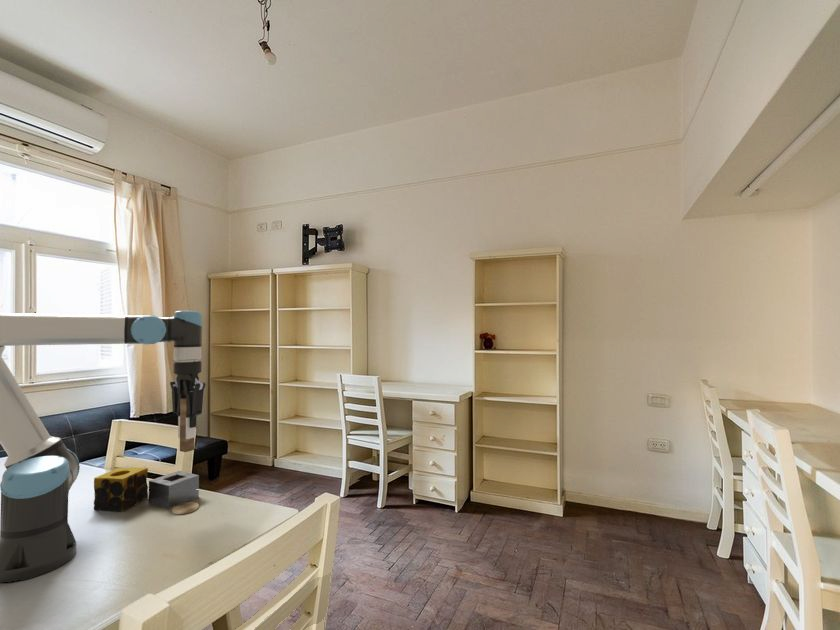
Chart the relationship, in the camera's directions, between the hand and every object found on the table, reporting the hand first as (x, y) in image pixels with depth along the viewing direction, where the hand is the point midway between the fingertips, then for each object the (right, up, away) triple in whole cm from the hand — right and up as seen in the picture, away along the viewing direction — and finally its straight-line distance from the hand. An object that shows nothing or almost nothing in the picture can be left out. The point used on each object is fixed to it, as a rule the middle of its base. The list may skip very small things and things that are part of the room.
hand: (186, 437), depth 125 cm
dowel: (0, -4, 0) cm, 4 cm away
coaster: (0, -22, -1) cm, 22 cm away
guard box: (-8, -22, +6) cm, 24 cm away
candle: (-22, -22, +3) cm, 32 cm away
